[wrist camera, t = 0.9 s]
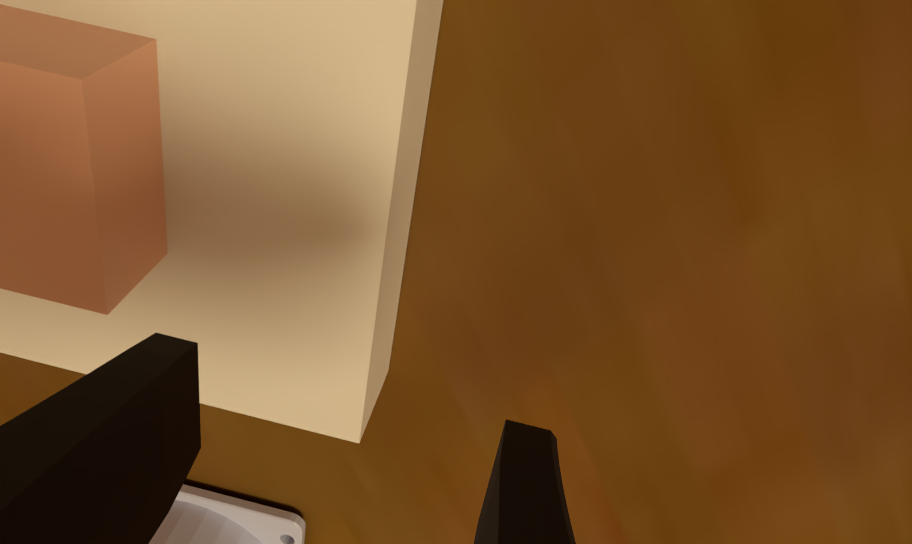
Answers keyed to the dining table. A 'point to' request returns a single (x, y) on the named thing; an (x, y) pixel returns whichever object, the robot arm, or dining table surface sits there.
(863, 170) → the dining table surface
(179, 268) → the board
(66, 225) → the tile
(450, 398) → the dining table surface
